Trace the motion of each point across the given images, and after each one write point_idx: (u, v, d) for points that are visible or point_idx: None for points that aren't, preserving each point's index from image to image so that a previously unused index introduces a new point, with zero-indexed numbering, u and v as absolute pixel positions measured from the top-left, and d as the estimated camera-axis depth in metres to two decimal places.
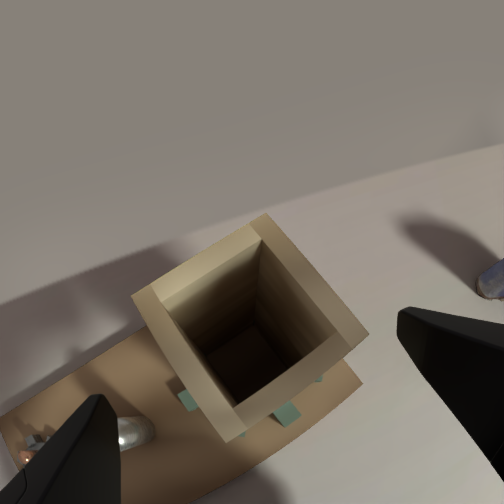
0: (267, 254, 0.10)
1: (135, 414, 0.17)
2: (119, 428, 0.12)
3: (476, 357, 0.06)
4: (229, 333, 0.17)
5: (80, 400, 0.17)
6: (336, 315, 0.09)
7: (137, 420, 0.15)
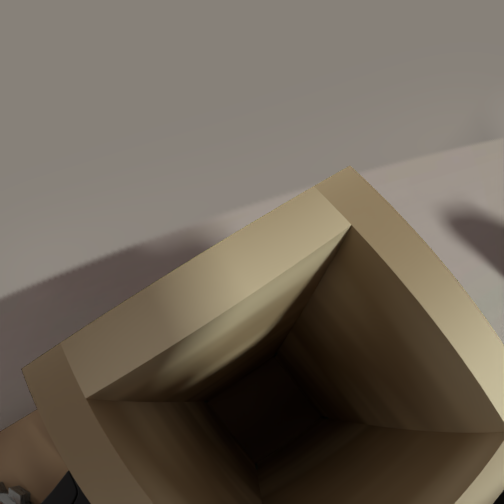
0: (356, 263, 0.04)
1: None
2: None
3: None
4: (242, 375, 0.11)
5: (43, 448, 0.11)
6: None
7: None
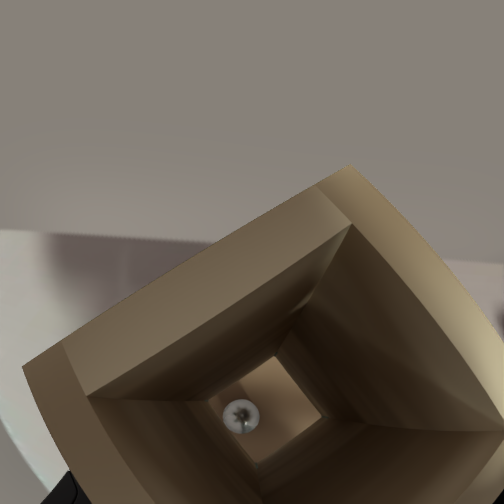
0: (356, 261, 0.04)
1: (242, 396, 0.19)
2: (254, 412, 0.14)
3: None
4: (242, 374, 0.11)
5: None
6: None
7: None
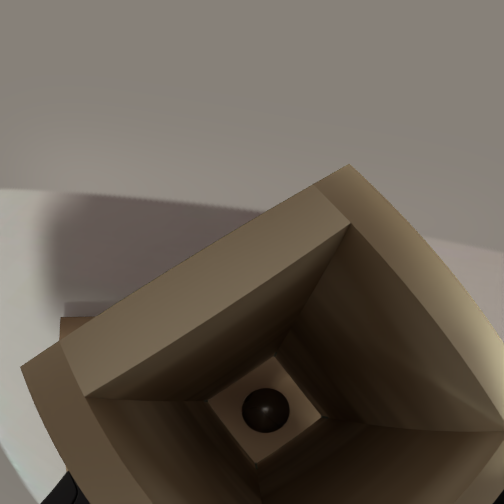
0: (356, 261, 0.04)
1: (261, 387, 0.16)
2: (283, 406, 0.11)
3: None
4: (241, 374, 0.11)
5: None
6: None
7: None
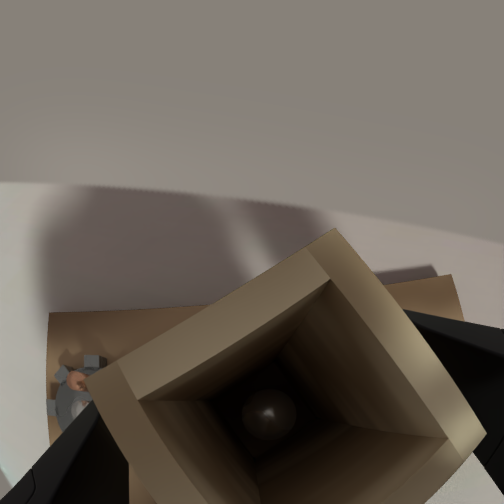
0: (334, 303, 0.05)
1: (263, 389, 0.14)
2: (289, 409, 0.09)
3: (469, 362, 0.05)
4: (244, 377, 0.13)
5: None
6: (449, 414, 0.04)
7: None
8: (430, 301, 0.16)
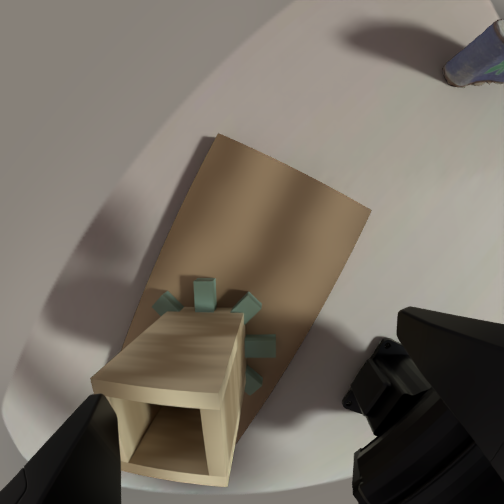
0: None
1: None
2: None
3: (476, 357, 0.06)
4: None
5: None
6: (188, 402, 0.10)
7: None
8: (222, 173, 0.20)
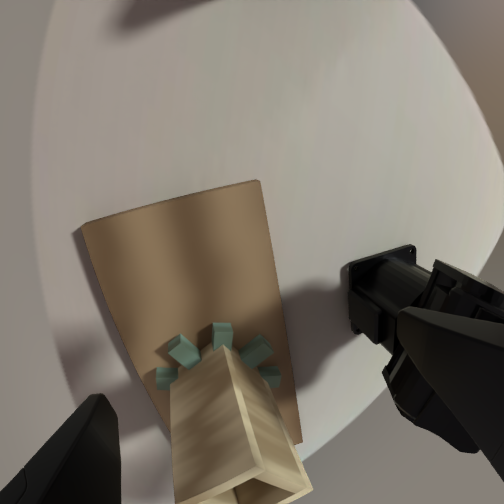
0: None
1: None
2: None
3: (476, 357, 0.06)
4: None
5: None
6: (243, 479, 0.11)
7: None
8: (112, 256, 0.18)
